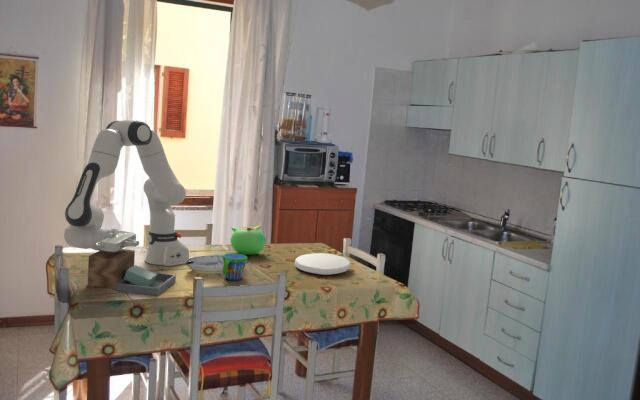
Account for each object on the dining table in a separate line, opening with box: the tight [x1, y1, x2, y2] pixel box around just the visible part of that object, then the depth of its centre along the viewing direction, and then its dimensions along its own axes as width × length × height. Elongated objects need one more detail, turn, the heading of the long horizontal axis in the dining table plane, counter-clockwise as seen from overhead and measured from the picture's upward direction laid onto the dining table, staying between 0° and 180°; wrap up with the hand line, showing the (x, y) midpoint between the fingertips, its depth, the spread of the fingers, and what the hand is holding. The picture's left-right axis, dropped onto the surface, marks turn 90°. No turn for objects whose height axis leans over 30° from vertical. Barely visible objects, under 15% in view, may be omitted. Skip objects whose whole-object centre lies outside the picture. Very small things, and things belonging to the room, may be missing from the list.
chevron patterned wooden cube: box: [87, 248, 136, 290], centre depth 245 cm, size 12×16×12 cm
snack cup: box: [221, 252, 248, 281], centre depth 266 cm, size 16×10×10 cm
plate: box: [294, 252, 351, 276], centre depth 295 cm, size 28×6×27 cm
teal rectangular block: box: [124, 264, 157, 287], centre depth 244 cm, size 4×8×10 cm
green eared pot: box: [230, 225, 267, 256], centre depth 310 cm, size 18×17×15 cm
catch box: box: [115, 271, 177, 297], centre depth 244 cm, size 17×20×3 cm
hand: (137, 244), depth 242 cm, fingers closed
